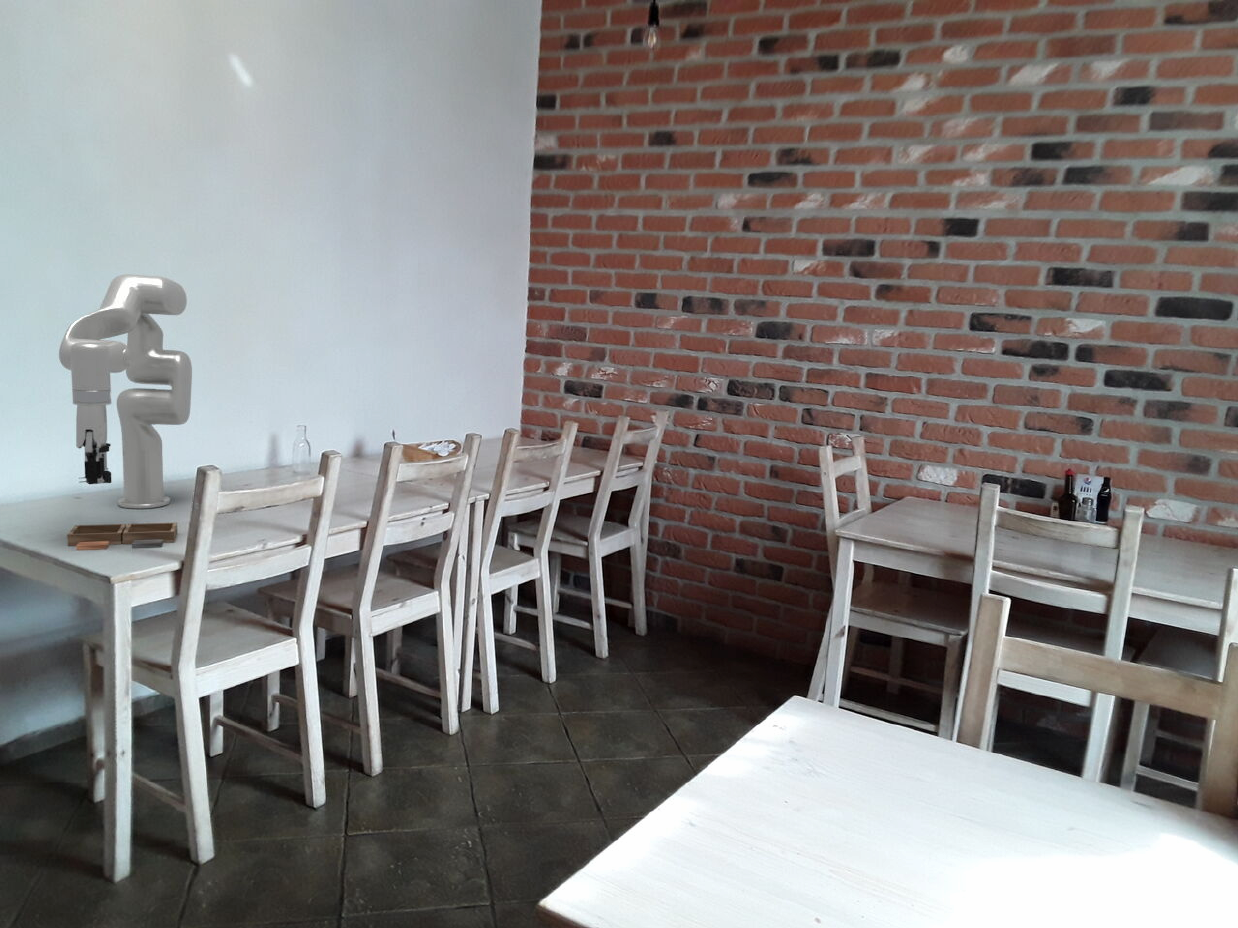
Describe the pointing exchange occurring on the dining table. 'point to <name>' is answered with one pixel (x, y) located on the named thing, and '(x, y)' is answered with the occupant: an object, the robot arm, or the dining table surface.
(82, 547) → the terracotta tag dock
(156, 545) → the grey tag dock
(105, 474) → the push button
